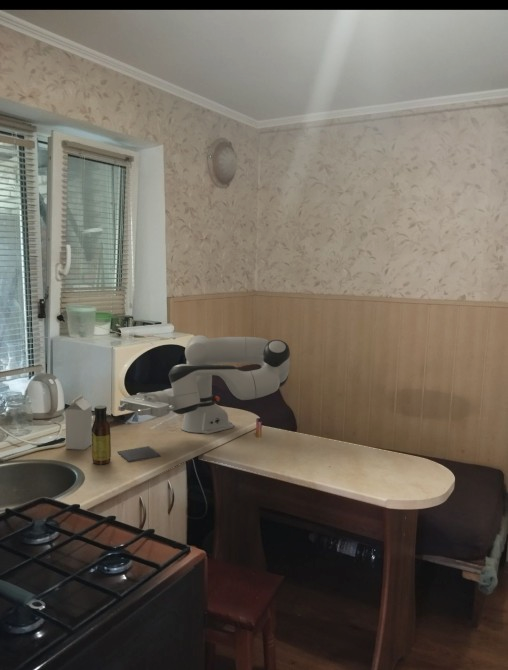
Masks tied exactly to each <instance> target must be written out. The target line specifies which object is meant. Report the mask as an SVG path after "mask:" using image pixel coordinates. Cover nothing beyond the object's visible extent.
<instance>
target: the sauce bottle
mask: <svg viewBox="0 0 508 670" xmlns="http://www.w3.org/2000/svg"><path fill="white" fill-rule="evenodd" d="M93 409H94V421H93V423H92V444H91V457H92V462H93V464H95V465H106V464H109V463H110V462H111V457H112V443H111V442H112V441H111V426H110V422H109V421H108V420H107V409H108V408H107V405H101V404H100V405H95V406H94V408H93Z"/></svg>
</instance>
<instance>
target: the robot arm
mask: <svg viewBox="0 0 508 670" xmlns="http://www.w3.org/2000/svg"><path fill="white" fill-rule="evenodd" d="M184 355H185V359H186V363H180V364H177V365H174V366H172V367H171V369H170V370H169V373H168V378H169V382H170V384H171V388H166V389H163V390H158V391H152V392H138V393H136V394H133V395H130V396H125V397H123V398H121V399H120V400H119V405H118V407H117V408H118V409H117V411H120V412H125V411H129V412H134V413H137V415H138V416H152V417H155V418H162V417H164V416H167V415H169V414H170V412H173V413H175V414H177V415H183V420H182V423H181V426H180V428H181V430H183V431H185V432H188V433H197V434H198V433H199V434H206V435H207V434H208V435H209V434H213V433H216V432H220V431H225V430H228V429H233V428H234V423H233V422H231V421H230V420H229V416H228V412H227V411H226V410H225V409H223V408H222V407H221V406H220V405H218V404H217V403H216V402H218V403H219V402H220V397H219V396H218V395H213V394H212V393H213V390H212V389H213V388H212V387H213V386H212V385H213V376H218V377H220V378H221V379H222V380H223V381H224V383H225V384H226V386H227V388H228V389H229V391H230V392H231V394H232V395H233V396H235V398H237V399H239V400H241V401H246V400H255V399H258V398H262V397H265V396H268V395H270V394H273V393H275V392H277V391H278V390H279V388H281V387H283V386H285V384H286V383H287V381H288V379H289V372H290V367H291V366H290V365H291V364H290V363H291V362H290V361H291V360H290V356H291V352H290V348H289V344H288V343H286V342H285V341H283V340H282V339H271V340H268V338H263V337H255V336H223V337H211V338H210V337H207V336H205V335H202V334H200V335H199V334H198V335H195V336H194V335H193V337H191V338H190V340H189V341H188V342H187V344H186V346H185V350H184ZM222 364H223V365H222ZM224 364H227V365H224ZM229 364H257V365H260V368H259V369H254V370H253V369H252V370H247V371H244V370H240V369H238V368H237V367H236V366H234V365H229Z"/></svg>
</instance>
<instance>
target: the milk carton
mask: <svg viewBox="0 0 508 670" xmlns="http://www.w3.org/2000/svg"><path fill="white" fill-rule="evenodd" d="M69 404H70V405H69V406H68V407H67V408H65V410H64V411H65V449H66V450H80V451H82V450H83V451H86V449H88V448H89V447H90V446H92V427H93V423H92V417H93V416H92V412H93V411H92V405H91V404H90V403H89V402H88V401H87V400H86V399H84V396H83V394H81V395H80V396H77V397H76V398H75V399H73V400H71V401H70V402H69Z"/></svg>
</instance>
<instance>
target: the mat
mask: <svg viewBox="0 0 508 670" xmlns="http://www.w3.org/2000/svg"><path fill="white" fill-rule="evenodd" d="M117 455H121V456H120V457H121V458H123V459H124V460H125V459H126V460H127V461H126V460H125V461H126V462H128V463H133V462H136V461H137V460H138V461H142V460H143V459H144V460H148V459H154V458H160V457H161V454H160V453H159V452H158V451H156V450H155V449H153V448H152V447H150V446H149V445H148V446H142V447H135V448H130V449H129V448H128V449H122V450H117ZM144 460H143V461H144ZM132 461H133V462H132ZM138 461H137V462H138Z"/></svg>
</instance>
